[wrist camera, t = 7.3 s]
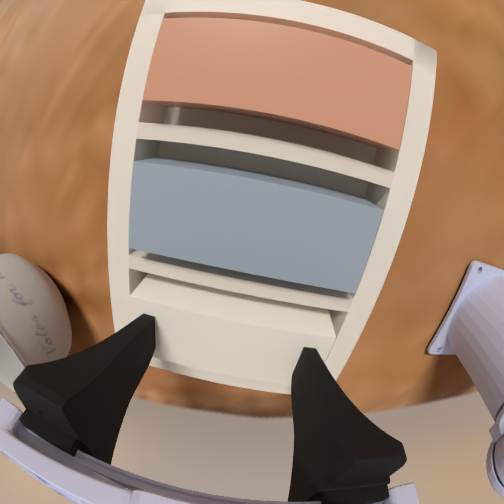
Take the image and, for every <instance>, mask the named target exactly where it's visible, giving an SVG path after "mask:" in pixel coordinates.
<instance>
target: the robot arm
mask: <svg viewBox="0 0 504 504" xmlns="http://www.w3.org/2000/svg"><path fill="white" fill-rule="evenodd" d="M478 269H479V270H478ZM155 348H156V339H155V316H151V315H147V314H144V313H143V314H142V315H140V316H139V317H137V318H136V319H135V320H133V321H132V322H130V323H129V324H128V325H126V326H125V327H123V328H122V329H120V330H119V331H117V332H116V333H114V334H113V335H111V336H110V337H108V338H106V339H105V340H103V341H101V342H100V343H98V344H96V345H94V346H92V347H90V348H88V349H86V350H84V351H81V352H79V353H76V354H73V355H71V356H68V357H65V358H62V359H58V360H54V361H50V362H46V363H40V364H33V365H27V366H26V367H25V368H24V370H23V371H22V372H21V373H20V374H19V376H18V377H17V378H16V379H15V381H14V382H13V387H14V390H15V392H16V394H17V395H18V397H19V399H20V400H21V401H22V403H23V405H24V406H25V408H26V410H25V411H24V413H23V412H22V411H21V410H20V409H19V408H18V407H16V406H15V405H14V404H12V403H11V402H10V401H8V400H7V399H6V398H2V399H1V400H0V451H1V452H2V453H3V454H4V455H5V456H6V457H8V458H9V459H10V460H11V461H13V462H14V463H15V464H17V465H18V466H19V467H20V468H22V469H23V470H24V471H26V472H27V473H28V474H30V475H31V476H33V477H34V478H35V479H37V480H38V481H40V482H41V483H43V484H44V485H46V486H47V487H49V488H50V489H52V490H54V491H55V492H57V493H58V494H60V495H62V496H63V497H65V498H67V499H69V500H70V501H72V502H74V503H76V504H419V500H418V495H417V491H416V487H415V483H409V484H404V485H400V486H396V487H393V488H390V489H388V486H387V484H389V483H390V477H389V476H390V475H392V474H393V473H394V472H396V471H397V470H398V469H400V468H401V467H402V466H403V465H404V464H405V462H406V461H407V458H406V454H405V450H404V447H403V445H402V443H401V442H400V441H398V440H396V439H395V438H393V437H391V436H390V435H388V434H387V433H385V432H384V431H382V430H381V429H380V428H379V427H377V426H376V425H375V424H373V423H372V422H371V421H370V420H369V419H368V418H367V417H366V416H365V415H364V414H362V413H361V412H360V411H359V410H358V409H357V407H356V406H355V405H354V404H353V403H352V402H351V401H350V400H349V398H348V397H347V396H346V395H345V393H344V392H343V391H342V389H341V388H340V387H339V385H338V384H337V382H336V381H335V379H334V378H333V376H332V375H331V373H330V371H329V370H328V368H327V366H326V365H325V363H324V361H323V360H322V358H321V356H320V354H319V353H318V351H317V349H316V348H309V347H303V350H302V352H301V355H300V357H299V359H298V362H297V364H296V367H295V369H294V371H293V374H292V381H291V398H292V410H293V422H294V455H293V468H292V476H291V485H290V491H289V497H288V502H276V501H259V500H248V499H239V498H230V497H224V496H218V495H212V494H206V493H201V492H196V491H192V490H187V489H183V488H179V487H175V486H171V485H168V484H164V483H161V482H157V481H154V480H150V479H147V478H144V477H141V476H139V475H135V474H133V473H130V472H127V471H125V470H122V469H120V468H117V467H115V466H112V465H111V461H112V457H113V452H114V448H115V444H116V441H117V437H118V434H119V430H120V428H121V425H122V422H123V418H124V416H125V413H126V410H127V407H128V405H129V402H130V400H131V398H132V396H133V394H134V392H135V390H136V388H137V386H138V385H139V383H140V381H141V379H142V377H143V375H144V373H145V372H146V370H147V368H148V366H149V364H150V362H151V359H152V356H153V354H154V351H155ZM427 351H428V352H429V354H441V355H456V356H457V357H458V359H459V360H460V362H461V363H462V365H463V367H464V368H465V370H466V371H467V373H468V375H469V376H470V378H471V380H472V381H473V383H474V385H475V386H476V388H477V390H478V392H479V393H480V395H481V397H482V399H483V400H484V402H485V404H486V406H487V407H488V409H489V411H490V413H491V415H492V417H493V419H494V421H495V423H494V425H493V426H492V428H491V429H490V430H489V432H490V434H491V436H492V438H493V441H492V443H491V444H490V447H489V449H488V453H487V460H486V464H487V474H488V478H489V480H490V483H491V485H492V487H493V488H494V490H495V491H496V492H497V493H498V494H499V495H500V496H502V497H504V270H503V269H500V268H497V267H494V266H491V265H488V264H485V263H482V262H479V261H472V262H471V264H470V265H469V268H468V270H467V273H466V275H465V277H464V280H463V282H462V284H461V286H460V288H459V291H458V293H457V295H456V297H455V299H454V301H453V303H452V305H451V307H450V309H449V311H448V313H447V315H446V317H445V318H444V320H443V322H442V324H441V326H440V328H439V329H438V331H437V333H436V335H435V336H434V338H433V340H432V341H431V343H430V345H429V346H428V348H427ZM126 488H128V489H126ZM129 489H130V490H129ZM132 490H133V491H132Z"/></svg>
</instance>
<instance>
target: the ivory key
mask: <svg viewBox="0 0 504 504" xmlns="http://www.w3.org/2000/svg"><path fill="white" fill-rule="evenodd" d="M130 310H131V322H132V321H133V320H135V319H136V318H137V317H139V316H140V315H142V314H143V313H144V314H147V315H151V316H155V339H156V348H155V351H154V354H153V356H152V357H155V358H159V359H162V360H166V361H169V362H173V363H177V364H181V365H185V366H189V367H193V368H197V369H202V370H206V371H210V372H215V373H220V374H225V375H230V376H235V377H241V378H246V379H252V380H258V381H265V382H272V383H279V384H287V385H291V381H292V374H293V371H294V369H295V367H296V364H297V362H298V359H299V357H300V355H301V352H302V350H303V347H309V348H316V349H317V351H318V353H319V354H320V356H321V358H322V360H323V361H324V362H325V360H326V358H327V356H328V354H329V352H330V350H331V348H332V346H333V344H334V342H335V339H336V335H335V331H334V328H333V324H332V321H331V317H330V314H329V310H328V309H324V308H318V307H312V306H306V305H300V304H295V303H289V302H284V301H278V300H273V299H267V298H262V297H257V296H252V295H247V294H242V293H237V292H232V291H227V290H222V289H217V288H212V287H208V286H203V285H198V284H194V283H189V282H185V281H180V280H176V279H172V278H167V277H163V276H159V275H155V274H150V273H148V275H147V276H146V277H145V278H144V279H143V281H142V282H141V283H140V284H139V285H138V286H137V288H136V289H135V290H134V291H133V292H132V294H131V295H130Z"/></svg>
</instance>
